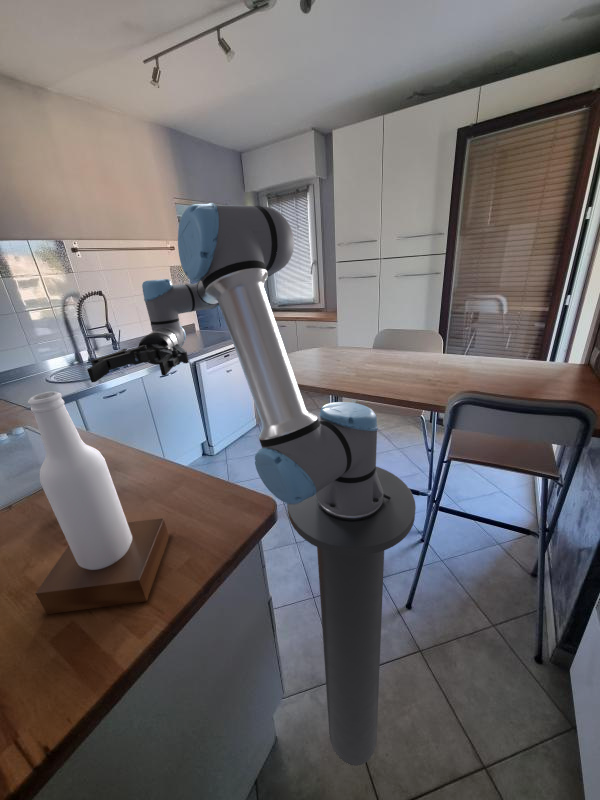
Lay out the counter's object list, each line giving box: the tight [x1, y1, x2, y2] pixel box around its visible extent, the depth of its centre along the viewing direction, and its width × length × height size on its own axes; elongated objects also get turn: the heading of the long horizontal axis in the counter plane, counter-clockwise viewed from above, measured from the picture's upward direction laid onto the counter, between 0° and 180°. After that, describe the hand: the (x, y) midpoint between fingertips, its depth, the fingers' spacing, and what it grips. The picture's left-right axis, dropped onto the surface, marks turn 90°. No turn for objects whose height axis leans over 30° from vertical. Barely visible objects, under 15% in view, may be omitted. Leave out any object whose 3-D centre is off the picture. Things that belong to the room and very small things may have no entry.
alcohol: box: [27, 390, 132, 570], centre depth 53 cm, size 9×9×30 cm
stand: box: [35, 517, 170, 615], centre depth 60 cm, size 16×14×5 cm
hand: (126, 372), depth 65 cm, fingers open, 13 cm apart
